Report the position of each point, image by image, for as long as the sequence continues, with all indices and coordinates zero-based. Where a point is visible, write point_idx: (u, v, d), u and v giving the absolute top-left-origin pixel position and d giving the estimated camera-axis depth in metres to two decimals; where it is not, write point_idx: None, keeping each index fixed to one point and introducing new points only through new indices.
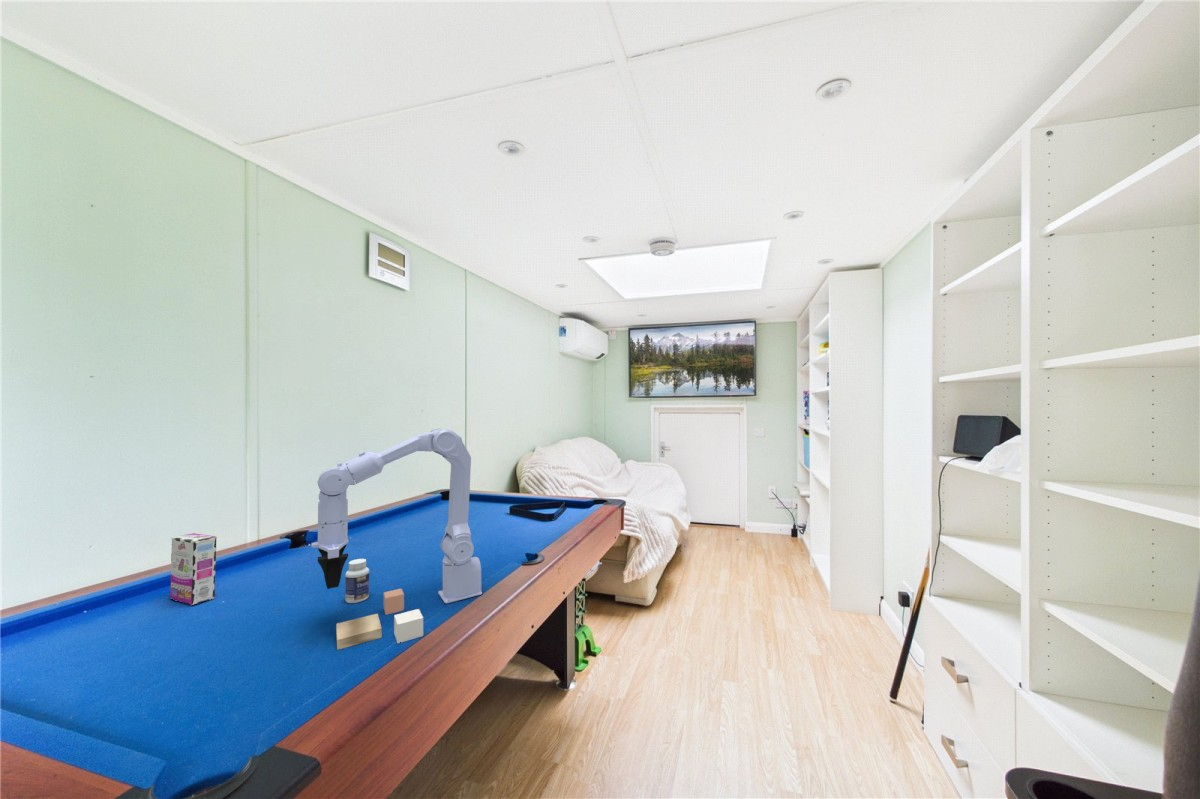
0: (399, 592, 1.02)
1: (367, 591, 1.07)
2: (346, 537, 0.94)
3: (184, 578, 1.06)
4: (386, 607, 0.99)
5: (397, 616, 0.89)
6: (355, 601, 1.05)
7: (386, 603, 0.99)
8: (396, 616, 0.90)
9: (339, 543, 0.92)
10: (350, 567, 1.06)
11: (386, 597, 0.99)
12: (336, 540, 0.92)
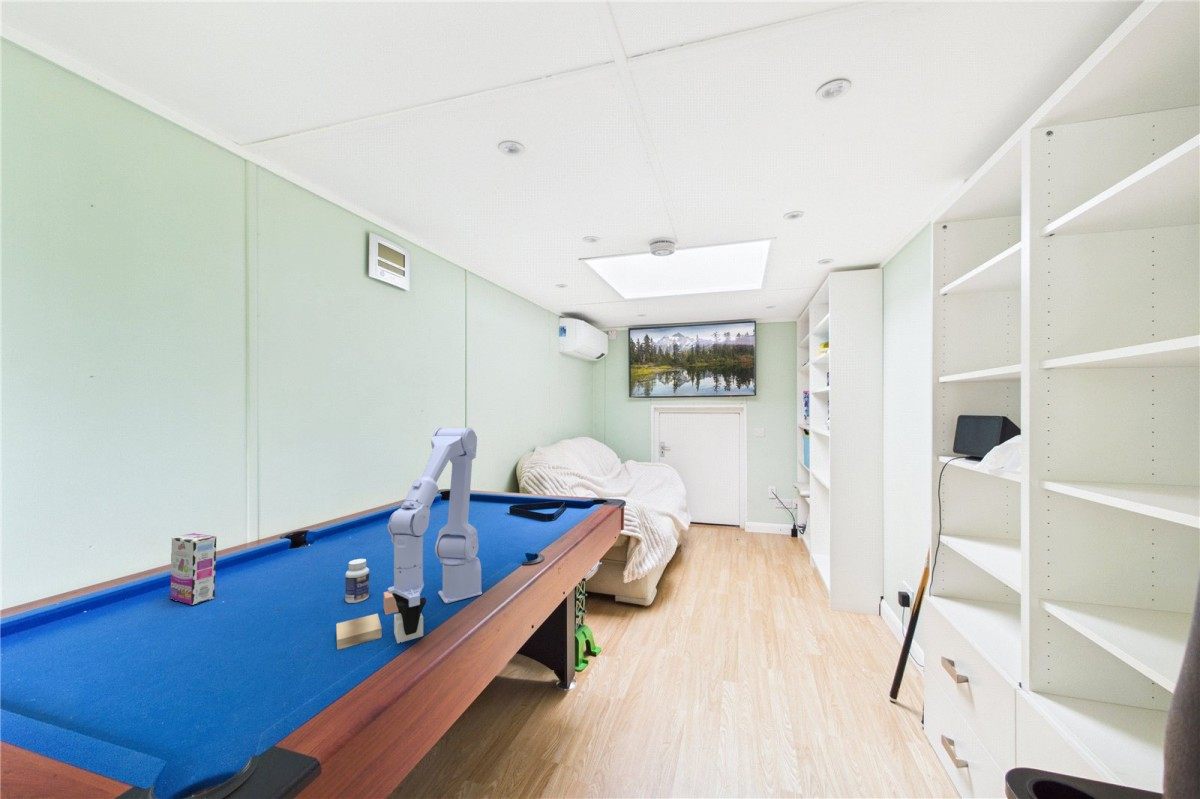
0: None
1: (367, 591, 1.07)
2: (422, 581, 0.90)
3: (184, 578, 1.06)
4: (386, 607, 0.99)
5: (397, 615, 0.89)
6: (355, 601, 1.05)
7: (386, 603, 0.99)
8: (396, 615, 0.90)
9: (416, 588, 0.88)
10: (350, 567, 1.06)
11: (386, 597, 0.99)
12: (414, 585, 0.88)
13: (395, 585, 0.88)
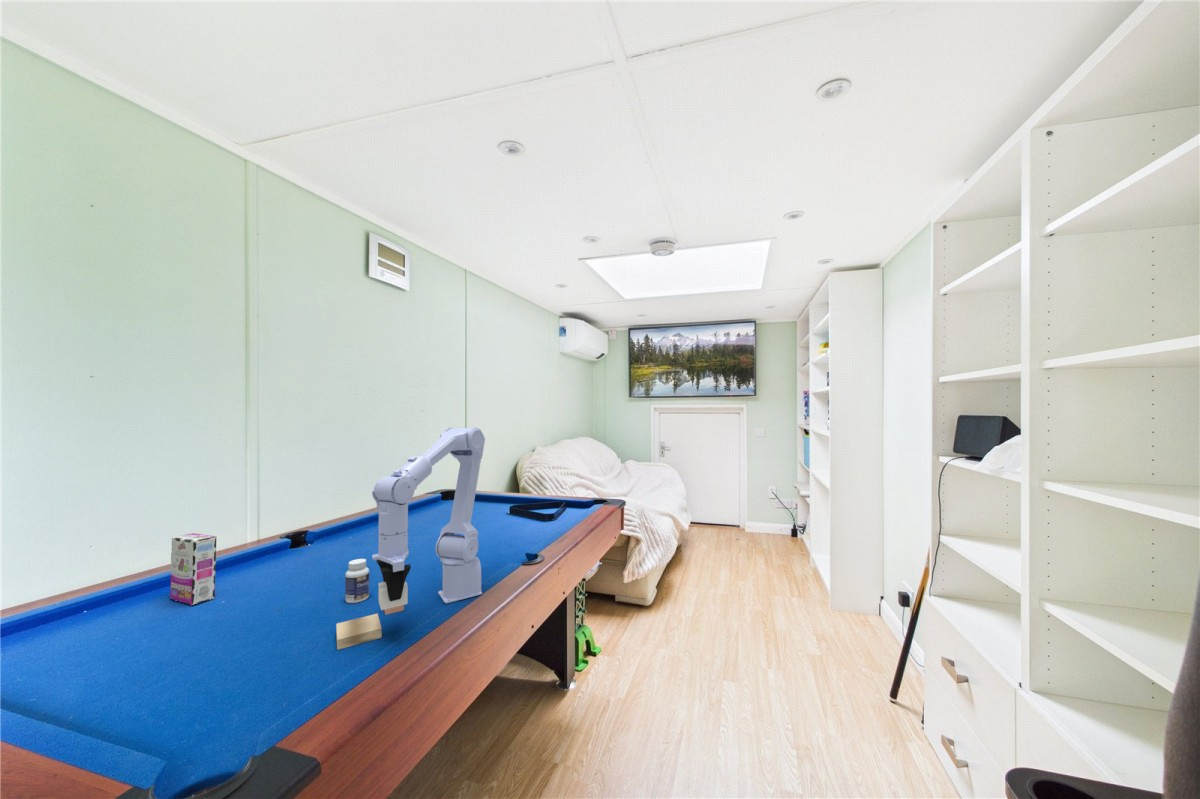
0: None
1: (367, 591, 1.07)
2: (407, 548, 0.91)
3: (184, 578, 1.06)
4: None
5: (381, 584, 0.90)
6: (355, 601, 1.05)
7: None
8: (380, 583, 0.90)
9: (401, 555, 0.88)
10: (350, 567, 1.06)
11: None
12: (398, 552, 0.88)
13: (379, 552, 0.88)
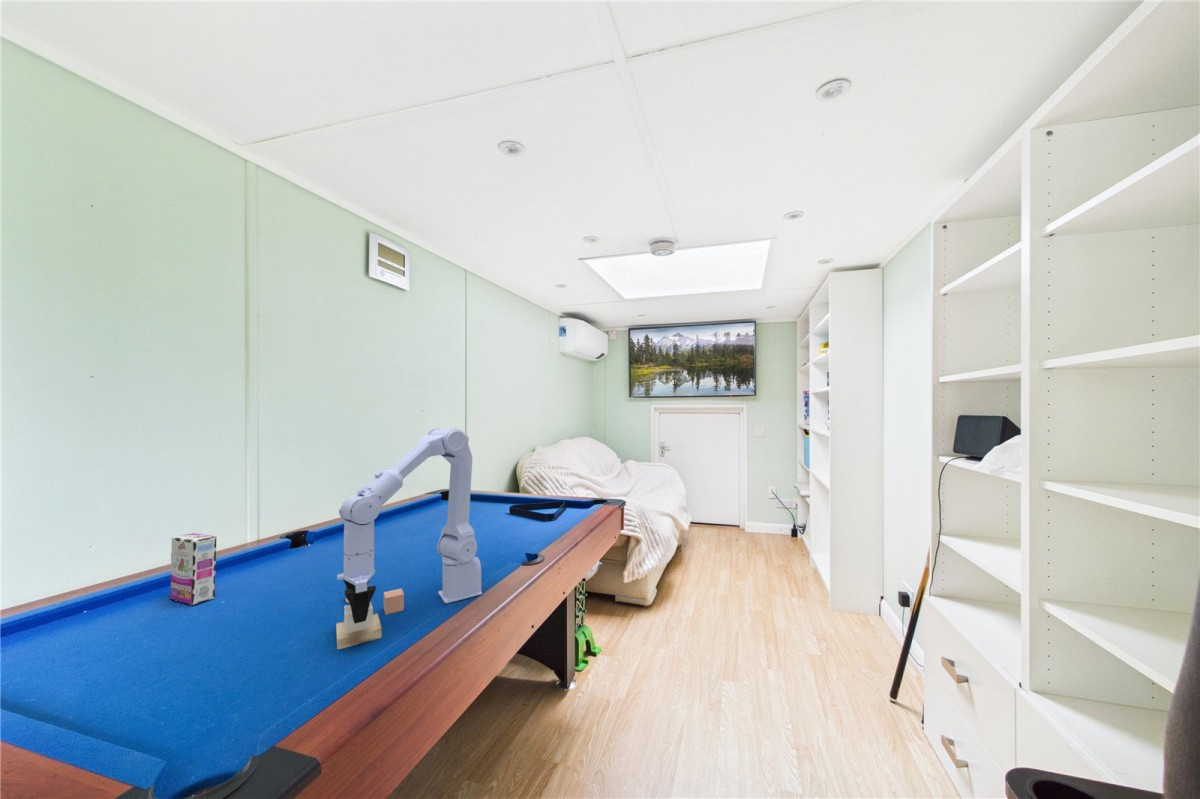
0: (399, 592, 1.02)
1: None
2: (373, 568, 0.90)
3: (184, 578, 1.06)
4: (386, 607, 0.99)
5: (347, 607, 0.90)
6: None
7: (386, 603, 0.99)
8: (346, 606, 0.90)
9: (366, 575, 0.88)
10: None
11: (386, 597, 0.99)
12: (363, 571, 0.88)
13: (344, 572, 0.88)
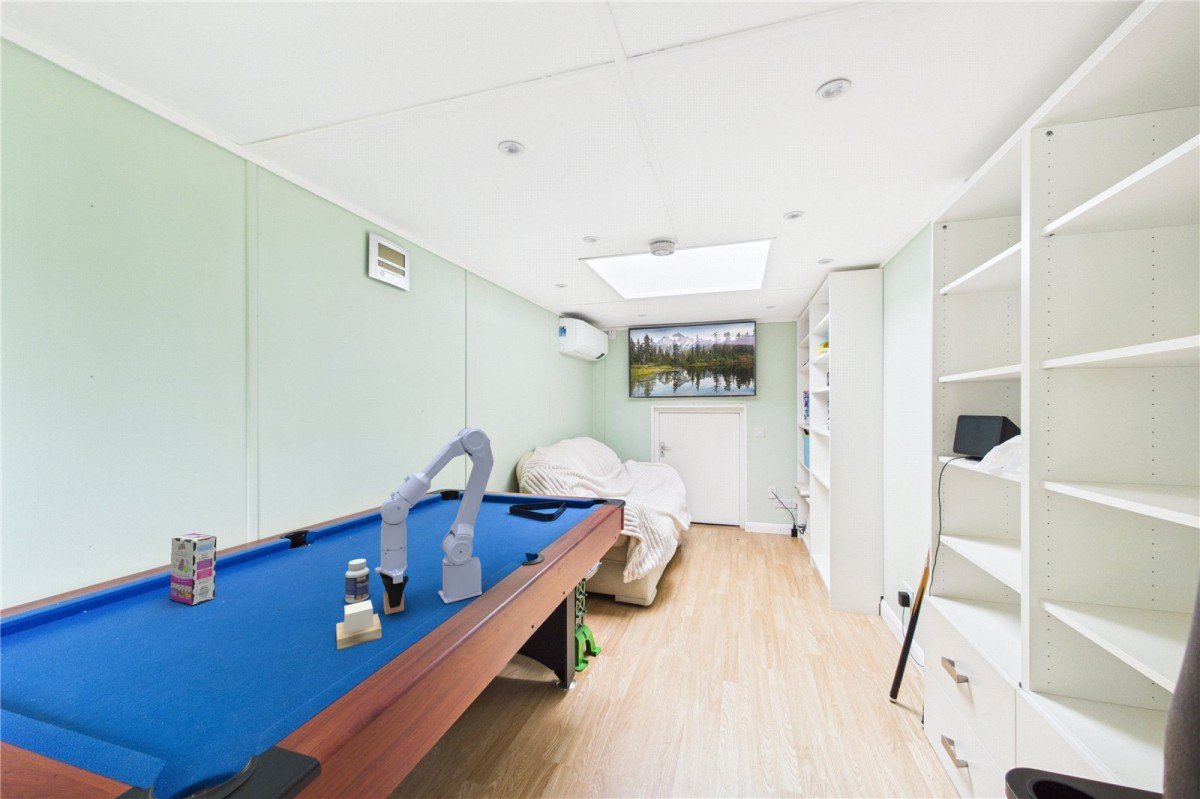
0: None
1: (367, 591, 1.07)
2: (406, 562, 1.02)
3: (184, 578, 1.06)
4: (386, 607, 0.99)
5: (347, 607, 0.90)
6: (355, 601, 1.05)
7: (386, 603, 0.99)
8: (346, 606, 0.90)
9: (400, 568, 1.00)
10: (350, 567, 1.06)
11: (386, 597, 0.99)
12: (398, 565, 1.00)
13: (381, 565, 0.99)
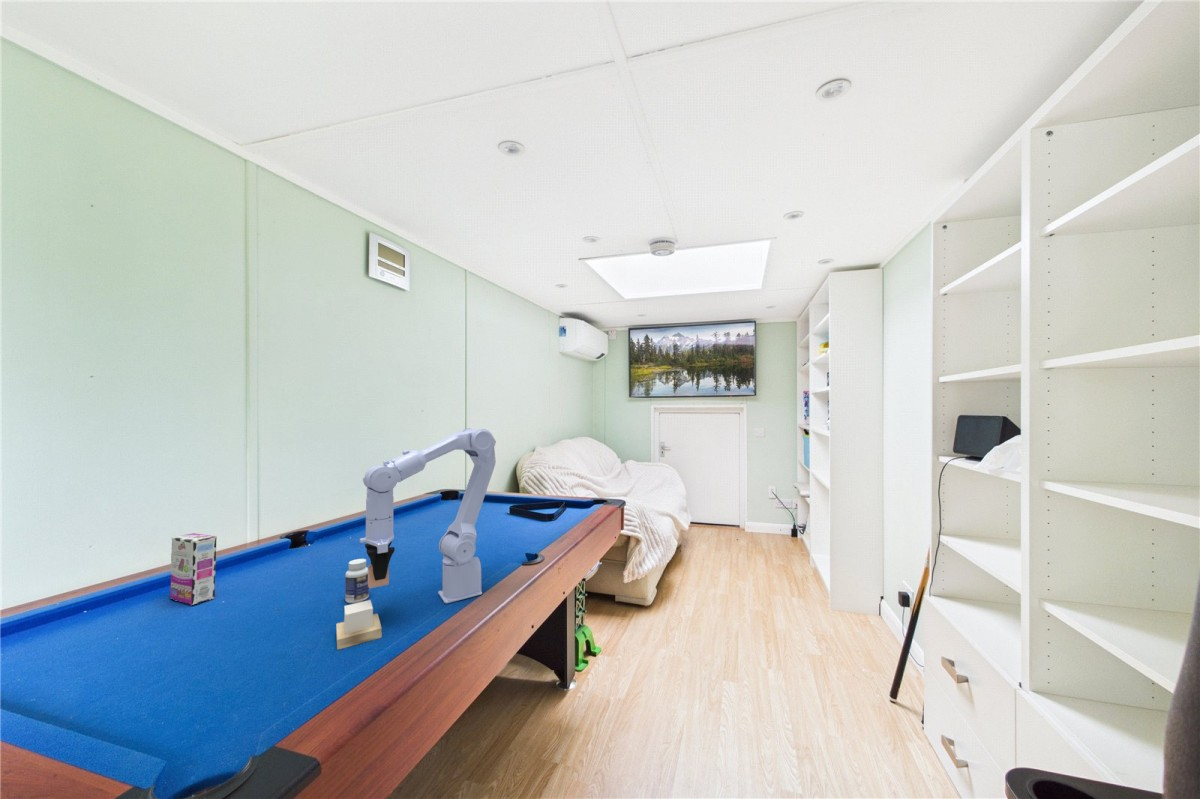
0: None
1: (367, 591, 1.07)
2: (392, 533, 0.97)
3: (184, 578, 1.06)
4: (370, 580, 0.94)
5: (347, 607, 0.90)
6: (355, 601, 1.05)
7: (370, 576, 0.94)
8: (346, 606, 0.90)
9: (386, 538, 0.95)
10: (350, 567, 1.06)
11: (370, 569, 0.94)
12: (384, 535, 0.95)
13: (366, 535, 0.95)
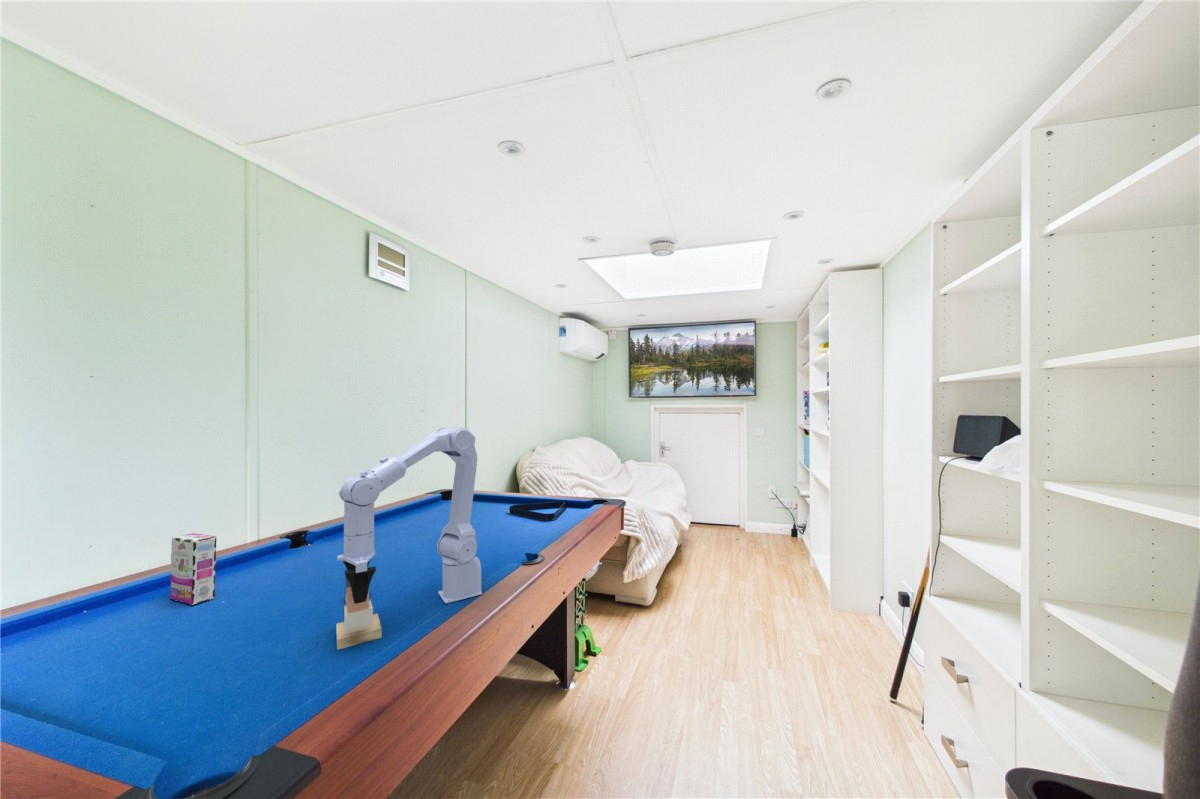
0: None
1: None
2: (373, 549, 0.91)
3: (184, 578, 1.06)
4: (348, 604, 0.87)
5: None
6: None
7: (348, 600, 0.87)
8: None
9: (366, 556, 0.88)
10: None
11: (348, 593, 0.87)
12: (363, 552, 0.88)
13: (344, 553, 0.88)
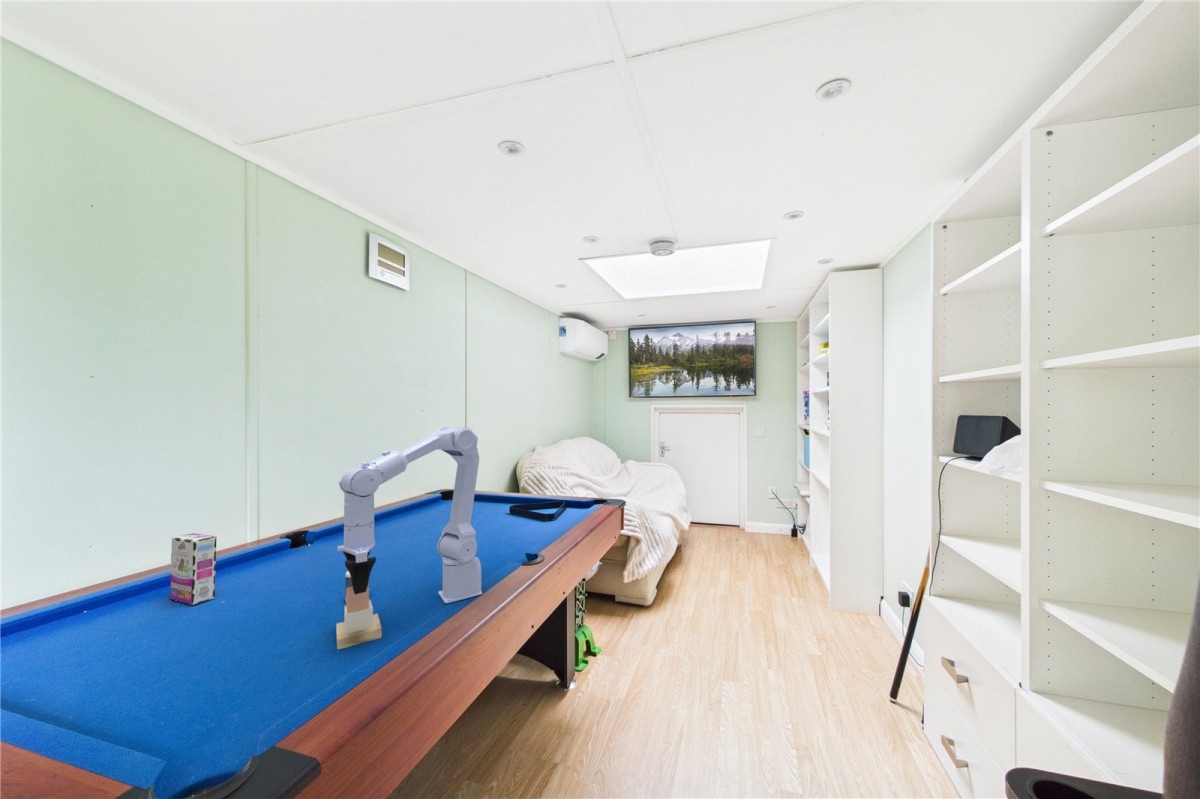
0: None
1: None
2: (373, 540, 0.91)
3: (184, 578, 1.06)
4: (348, 604, 0.87)
5: None
6: None
7: (348, 600, 0.87)
8: None
9: (366, 546, 0.88)
10: None
11: (348, 593, 0.87)
12: (363, 543, 0.88)
13: (344, 543, 0.88)
